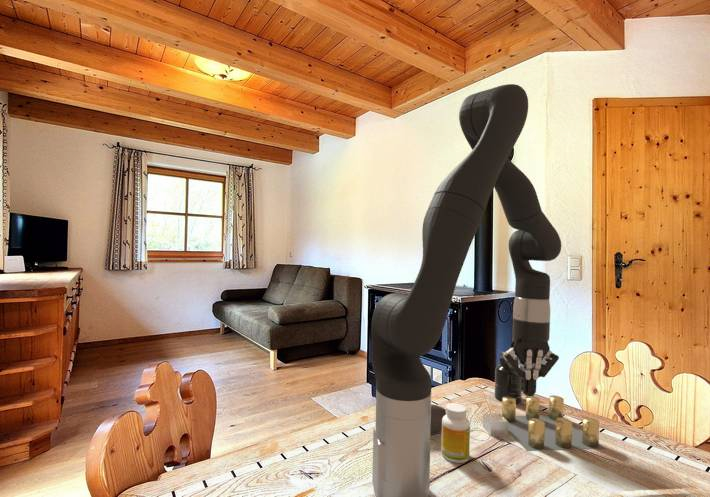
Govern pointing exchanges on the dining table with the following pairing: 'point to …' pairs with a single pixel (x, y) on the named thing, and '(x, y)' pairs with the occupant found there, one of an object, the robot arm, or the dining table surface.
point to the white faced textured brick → (495, 424)
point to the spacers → (555, 413)
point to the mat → (521, 434)
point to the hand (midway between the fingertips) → (528, 394)
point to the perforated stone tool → (436, 418)
